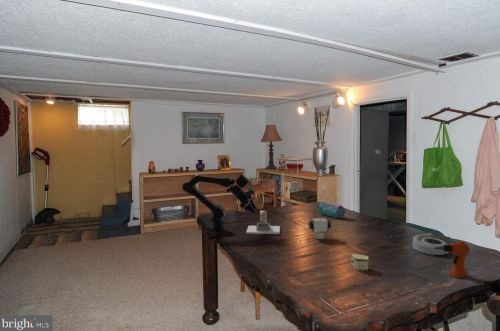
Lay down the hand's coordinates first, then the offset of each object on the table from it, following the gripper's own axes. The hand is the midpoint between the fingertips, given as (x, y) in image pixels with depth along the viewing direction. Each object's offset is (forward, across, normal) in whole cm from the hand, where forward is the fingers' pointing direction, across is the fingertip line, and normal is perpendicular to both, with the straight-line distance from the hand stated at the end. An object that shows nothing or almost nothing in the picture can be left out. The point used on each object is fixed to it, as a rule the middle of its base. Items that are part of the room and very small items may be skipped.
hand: (256, 210), depth 196 cm
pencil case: (+45, +40, -28) cm, 66 cm away
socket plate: (+12, 0, +5) cm, 13 cm away
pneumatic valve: (+35, -14, -18) cm, 42 cm away
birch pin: (+11, 0, +5) cm, 12 cm away
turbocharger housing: (+72, -30, -55) cm, 95 cm away
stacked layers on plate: (+44, -56, -27) cm, 76 cm away
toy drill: (+67, -62, -51) cm, 105 cm away
